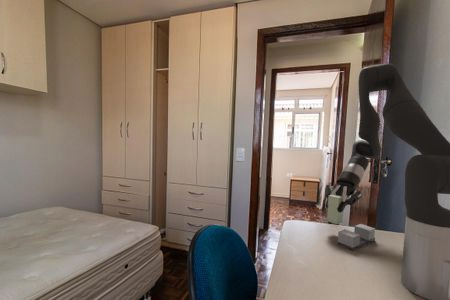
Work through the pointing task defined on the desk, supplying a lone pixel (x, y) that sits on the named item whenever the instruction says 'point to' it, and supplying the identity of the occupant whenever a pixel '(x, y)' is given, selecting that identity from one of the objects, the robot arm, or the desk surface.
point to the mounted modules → (356, 235)
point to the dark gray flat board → (361, 244)
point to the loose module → (334, 209)
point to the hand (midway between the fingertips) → (332, 209)
